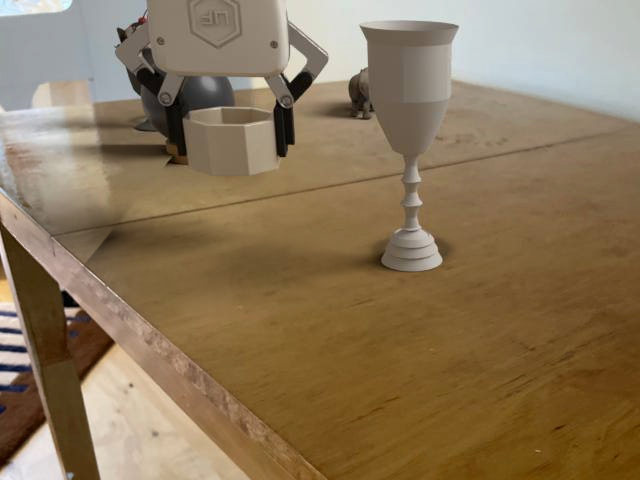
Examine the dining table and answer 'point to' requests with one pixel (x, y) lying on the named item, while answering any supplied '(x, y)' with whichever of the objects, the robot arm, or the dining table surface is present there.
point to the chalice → (410, 115)
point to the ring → (231, 141)
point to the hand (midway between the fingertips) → (234, 151)
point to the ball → (197, 94)
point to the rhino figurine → (360, 94)
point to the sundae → (147, 56)
